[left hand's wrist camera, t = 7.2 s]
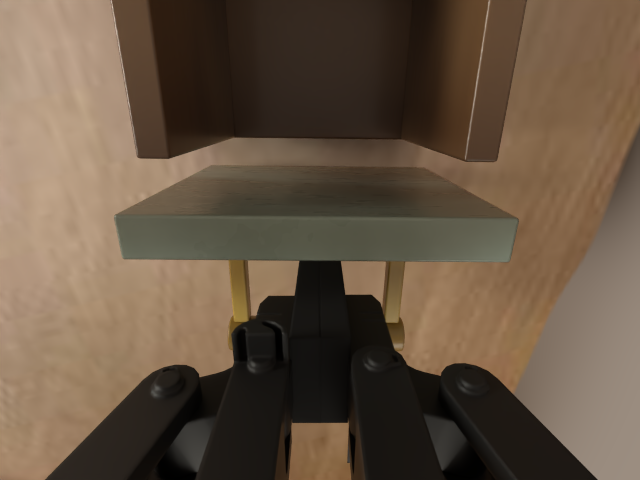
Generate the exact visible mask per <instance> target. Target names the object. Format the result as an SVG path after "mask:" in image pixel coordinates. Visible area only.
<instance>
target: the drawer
mask: <svg viewBox="0 0 640 480" xmlns="http://www.w3.org/2000/svg"><path fill="white" fill-rule="evenodd" d="M526 2H527V0H111V6H112V12H113V18H114V24H115V30H116V36H117V42H118V47H119V53H120V59H121V65H122V71H123V77H124V83H125V89H126V95H127V100H128V106H129V112H130V118H131V124H132V130H133V136H134V142H135V148H136V153H137V157H138V158H144V159H169V158H173V157H176V156H179V155H182V154H185V153H188V152H191V151H194V150H197V149H200V148H203V147H206V146H210V145H213V144H216V143H219V142H222V141H225V140H228V139H231V138H327V139H402V140H405V141H408V142H411V143H414V144H417V145H420V146H422V147H425V148H428V149H431V150H434V151H437V152H440V153H442V154H445V155H448V156H451V157H454V158H457V159H460V160H463V161H465V162H495V161H497V158H498V153H499V147H500V142H501V137H502V131H503V126H504V120H505V115H506V110H507V104H508V99H509V93H510V88H511V83H512V77H513V72H514V67H515V61H516V56H517V50H518V45H519V40H520V34H521V29H522V23H523V18H524V13H525V7H526ZM114 220H115V225H116V229H117V234H118V239H119V244H120V249H121V254H122V258H123V259H164V260H229V271H230V282H231V293H232V304H233V316H232V318H231V320H230V323H229V328H228V345H229V348H230V350H233V346H232V337H231V333H232V332H233V331H234V329H235V328H236V327H237V326H239V325H240V324H242V323H243V322H246V321H249V320H252V319H256V316H251V303H250V288H249V274H248V260H291V261H386V270H385V282H384V294H383V305H382V310H383V314H384V317H385V320H386V323H387V326H388V329H389V333H390V336H391V339H392V342H393V346H394V349H395V351H402V350H403V347H404V341H405V334H404V326H403V322H402V319H401V318H400V317H399V315H400V305H401V296H402V286H403V277H404V267H405V261H418V262H509V261H510V259H511V254H512V250H513V245H514V240H515V236H516V231H517V227H518V222H519V220H518V218H516V217H514V216H512V215H510V214H509V213H507V212H505V211H503V210H501V209H499V208H498V207H496V206H494V205H492V204H490V203H488V202H487V201H485V200H483V199H481V198H479V197H477V196H475V195H474V194H472V193H470V192H468V191H466V190H464V189H463V188H461V187H459V186H457V185H455V184H453V183H452V182H450V181H448V180H446V179H444V178H442V177H440V176H439V175H437V174H435V173H433V172H431V171H429V170H428V169H426V168H415V167H315V166H216V165H211V166H209V167H207V168H205V169H203V170H201V171H199V172H197V173H195V174H193V175H192V176H190V177H188V178H186V179H184V180H182V181H180V182H178V183H176V184H174V185H172V186H170V187H168V188H166V189H164V190H162V191H160V192H159V193H157V194H155V195H153V196H151V197H149V198H147V199H145V200H143V201H141V202H139V203H137V204H135V205H133V206H131V207H129V208H127V209H126V210H124V211H122V212H120V213H118V214H116V215H115V216H114Z"/></svg>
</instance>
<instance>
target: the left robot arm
mask: <svg viewBox="0 0 640 480" xmlns="http://www.w3.org/2000/svg"><path fill="white" fill-rule="evenodd" d="M231 337H232V346H233V356H234V365H233V367H231V368H229V369H227V370H225V371H223V372H219V373H216V374H212V375H208V376H204V377H199V374H198V372H197V371H196V370H195V369H194V368H192V367H190V366H187V365H172V366H168V367H163V368H161V369H159V370H157V371H155V372H153V373H151V374H150V375H149V376H148V377H146V378H145V379H144V380H143V381H142V382H141V383H140V384H139V385H138V386H137V387H136V388H135V389H134V390H133V391H132V392H131V393H130V394H129V395H128V396H127V397H126V398H125V399H124V400H123V401H122V402H121V403H120V404H119V405H118V406H117V407H116V408H115V409H114V410H113V411H112V412H111V413H110V414H109V415H108V416H107V417H106V418H105V419H104V420H103V421H102V422H101V423H100V424H99V425H98V426H97V427H96V428H95V429H94V430H93V432H92V433H91V434H90V435H89V436H88V437H87V438H86V439H85V440H84V441H83V442H82V443H81V444H80V445H79V446H78V447H77V448H76V449H75V450H74V451H73V452H72V453H71V454H70V455H69V456H68V457H67V458H66V459H65V460H64V461H63V462H62V463H61V464H60V465H59V466H58V467H57V468H56V469H55V470H54V471H53V472H52V473H51V474H50V475H49V476H48V477H47V478H46V479H45V480H289V468H290V456H291V444H292V436H291V425H292V423H348V421H349V436H348V461H347V463H350V468H351V480H597V479H596V478H595V477H594V476H593V475H592V474H591V473H590V472H589V471H588V470H587V469H586V468H585V467H584V466H583V465H582V464H581V462H579V460H577V458H576V457H575V456H574V455H573V454H572V453H571V452H570V451H569V450H568V449H567V448H566V447H565V446H564V445H563V444H562V443H561V442H560V441H559V440H558V439H557V438H556V437H555V436H554V435H553V434H552V433H551V432H550V431H549V430H548V429H547V428H546V427H545V426H544V425H543V424H542V423H541V422H540V421H539V420H538V419H537V418H536V417H535V416H534V415H533V414H532V413H531V412H530V411H529V410H528V409H527V408H526V407H525V406H524V405H523V404H522V403H521V402H520V401H519V400H518V399H517V398H516V397H515V396H514V395H513V394H512V393H511V392H510V391H509V390H508V389H507V388H506V387H505V386H504V385H503V384H502V383H501V382H500V381H499V380H498V379H497V378H496V377H495V376H494V375H492V374H491V373H490V372H489V371H487V370H485V369H482V368H480V367H478V366H475V365H471V364H466V363H458V364H452V365H450V366H447V367H446V368H445V369H444V370H443V371H442V373H441V376H438V375H434V374H430V373H426V372H422V371H419V370H416V369H414V368H412V367H410V366H408V365H407V364H406V362H405V360H404V358H403V357H402V355H401V354H399V353H398V352H397V351H395V349H394V346H393V342H392V339H391V336H390V333H389V329H388V326H387V323H386V320H385V317H384V314H383V310H382V307H381V304H380V302H379V301H378V300H377V299H376V298H375V297H373V296H372V295H345V289H344V282H343V274H342V267H341V261H299V268H298V276H297V283H296V291H295V296H268V297H267V298H266V299H265V300H264V301H263V302H262V303H260V306H259V309H258V312H257V315H256V319H252V320H249V321H246V322H243V323H242V324H240V325H239V326H237V327H236V328H235V329H234V331H233V332H232V333H231Z"/></svg>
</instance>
